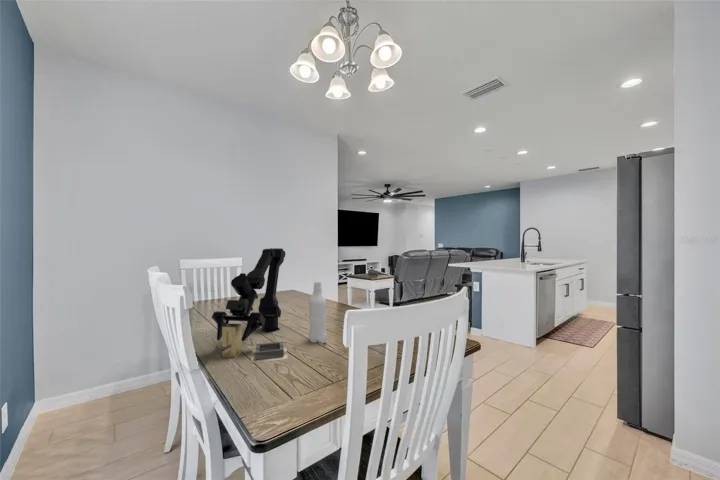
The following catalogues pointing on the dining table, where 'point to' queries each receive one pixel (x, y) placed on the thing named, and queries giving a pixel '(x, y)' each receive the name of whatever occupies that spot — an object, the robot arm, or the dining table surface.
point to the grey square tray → (269, 352)
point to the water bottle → (317, 315)
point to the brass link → (232, 340)
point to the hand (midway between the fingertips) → (230, 340)
